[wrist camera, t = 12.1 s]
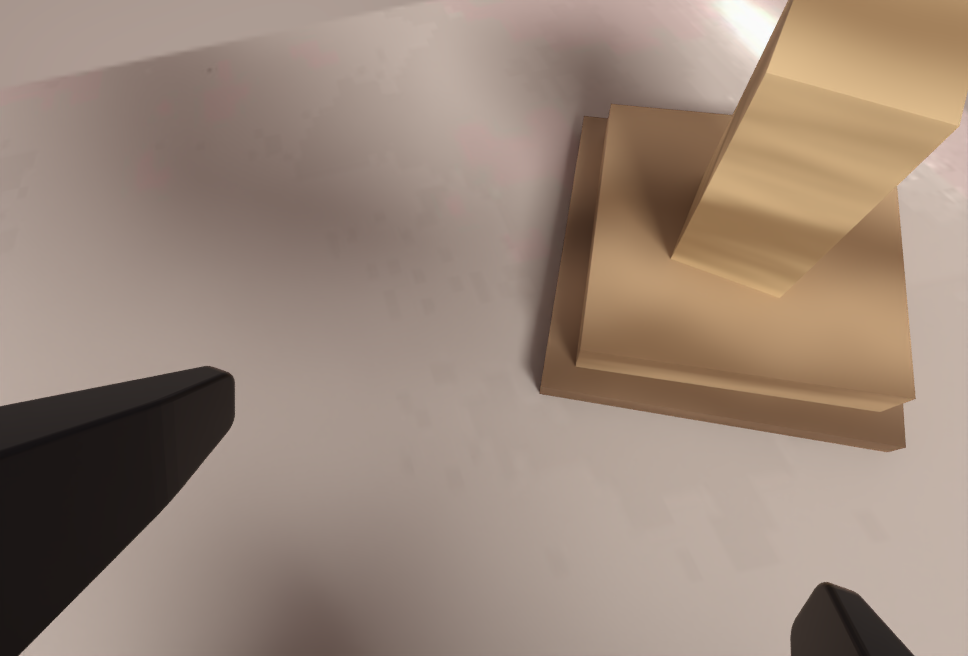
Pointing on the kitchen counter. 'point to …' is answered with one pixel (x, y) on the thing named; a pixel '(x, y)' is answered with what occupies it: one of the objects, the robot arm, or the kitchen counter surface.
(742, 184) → the oak block
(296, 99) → the kitchen counter surface
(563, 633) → the kitchen counter surface
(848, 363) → the top slab
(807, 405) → the bottom slab
